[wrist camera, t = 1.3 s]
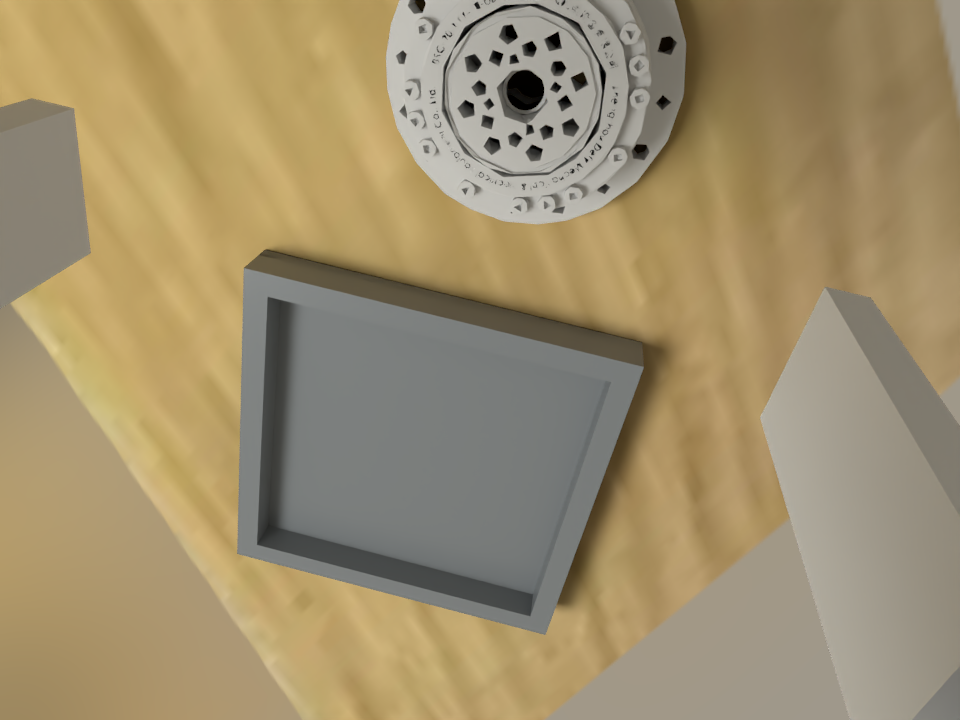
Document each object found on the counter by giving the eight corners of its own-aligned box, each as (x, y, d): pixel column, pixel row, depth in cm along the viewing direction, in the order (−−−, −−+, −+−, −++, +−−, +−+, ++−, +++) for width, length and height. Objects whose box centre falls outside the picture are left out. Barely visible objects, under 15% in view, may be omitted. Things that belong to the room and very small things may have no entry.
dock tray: (265, 249, 30) (243, 267, 28) (642, 342, 29) (643, 367, 28) (254, 526, 38) (237, 553, 36) (548, 603, 37) (545, 634, 36)
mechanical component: (699, 182, 26) (662, -140, 22) (714, 221, 22) (672, -158, 18) (440, 234, 29) (358, -44, 24) (414, 278, 25) (312, -42, 20)
